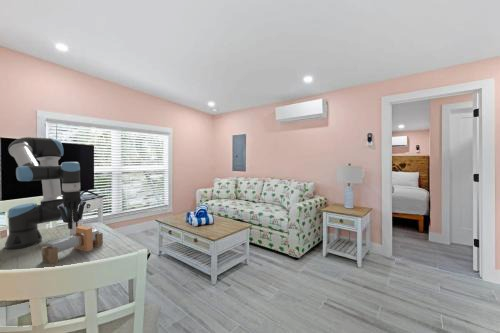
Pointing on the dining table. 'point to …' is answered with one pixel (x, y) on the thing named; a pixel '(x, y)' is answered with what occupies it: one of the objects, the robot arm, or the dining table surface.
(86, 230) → the peach rectangular loop
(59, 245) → the grey long bar
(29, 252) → the dining table surface
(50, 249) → the stand
